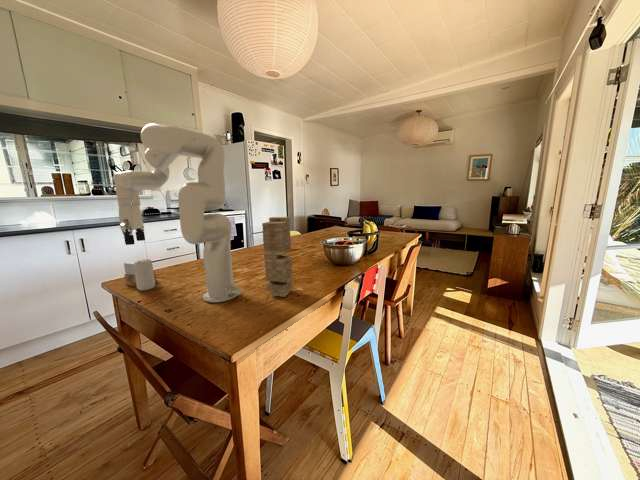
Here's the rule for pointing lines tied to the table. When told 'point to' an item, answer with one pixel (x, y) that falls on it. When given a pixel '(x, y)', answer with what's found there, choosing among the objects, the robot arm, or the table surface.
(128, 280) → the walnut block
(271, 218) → the block tower
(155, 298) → the table surface
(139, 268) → the beverage can
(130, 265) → the pale gray block
